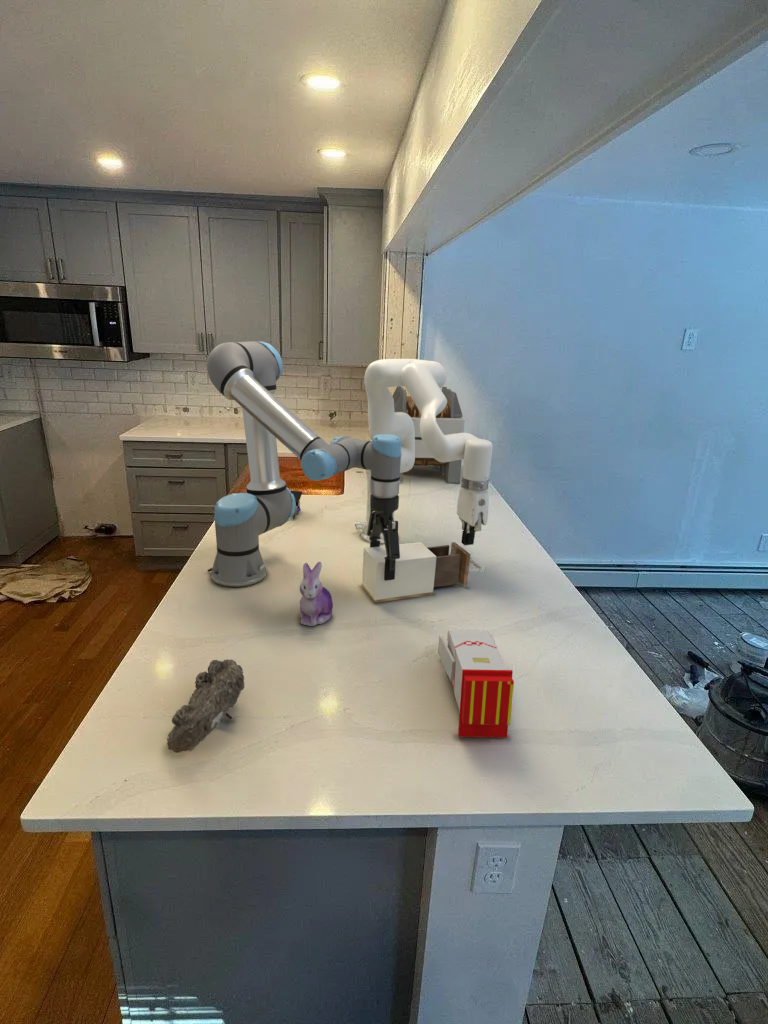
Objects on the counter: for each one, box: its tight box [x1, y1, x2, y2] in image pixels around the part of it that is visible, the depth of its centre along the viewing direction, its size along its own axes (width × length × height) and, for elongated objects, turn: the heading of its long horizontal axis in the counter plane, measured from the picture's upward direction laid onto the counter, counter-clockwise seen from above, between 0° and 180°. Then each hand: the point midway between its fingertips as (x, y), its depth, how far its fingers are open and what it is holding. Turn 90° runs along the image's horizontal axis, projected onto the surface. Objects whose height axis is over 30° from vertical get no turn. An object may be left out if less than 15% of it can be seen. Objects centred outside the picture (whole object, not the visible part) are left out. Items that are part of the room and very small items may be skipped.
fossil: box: [166, 658, 245, 754], centre depth 106 cm, size 22×10×15 cm
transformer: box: [392, 386, 465, 484], centre depth 268 cm, size 34×33×41 cm
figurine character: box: [290, 490, 303, 520], centre depth 212 cm, size 7×8×15 cm
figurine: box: [299, 561, 334, 627], centre depth 141 cm, size 9×10×15 cm
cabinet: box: [361, 541, 436, 604], centre depth 158 cm, size 17×10×12 cm, turn 112°
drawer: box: [425, 541, 486, 588], centre depth 163 cm, size 22×9×10 cm, turn 112°
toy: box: [437, 628, 515, 738], centre depth 117 cm, size 12×13×30 cm
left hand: (381, 570), depth 156 cm, fingers closed on cabinet, 10 cm apart
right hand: (467, 543), depth 164 cm, fingers closed
